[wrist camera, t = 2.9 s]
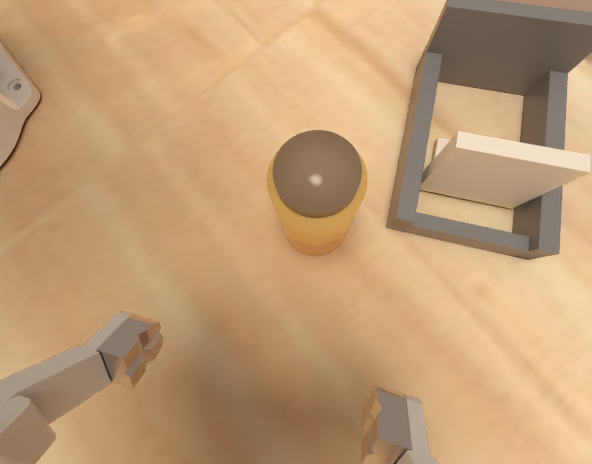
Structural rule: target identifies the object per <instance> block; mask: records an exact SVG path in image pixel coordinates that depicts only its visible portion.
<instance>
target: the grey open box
mask: <svg viewBox="0 0 592 464" xmlns="http://www.w3.org/2000/svg"><path fill="white" fill-rule="evenodd" d="M591 52H592V13H591V12H583V11H575V10H567V9H559V8H552V7H544V6H535V5H528V4H520V3H513V2H504V1H497V0H447V1H446V3H445V5H444V7H443V10H442V12H441V14H440V16H439V19H438V21H437V23H436V25H435V27H434V30H433V32H432V34H431V36H430V39H429V41H428V43H427V45H426V48H425V50H424V52H423V54H422V57H421V59H420V61H419V63H418V66H417V68H416V73H415V78H414V83H413V89H412V94H411V99H410V104H409V110H408V115H407V120H406V126H405V131H404V136H403V141H402V147H401V152H400V157H399V162H398V168H397V173H396V178H395V183H394V189H393V194H392V199H391V205H390V210H389V215H388V220H387V226H386V228H390V229H395V230H399V231H404V232H408V233H412V234H417V235H421V236H426V237H430V238H435V239H439V240H443V241H448V242H452V243H457V244H461V245H466V246H470V247H474V248H479V249H483V250H488V251H492V252H497V253H501V254H506V255H510V256H514V257H519V258H523V259H528V260H529V259H535V258H540V257H545V256H551V255H556V254H559V248H560V227H561V206H562V186H560V187H558V188H555V189H553V190H551V191H549V192H547V193H545V194H542V195H540V196H538V197H536V198H534V199H531V200H529V201H527V202H525V203H523V204H521V205H518V206H516V207H515V210H514V222H513V233H510V232H505V231H500V230H496V229H491V228H486V227H482V226H477V225H473V224H468V223H463V222H459V221H454V220H450V219H445V218H440V217H436V216H431V215H426V214H422V213H417V212H416V209H417V203H418V197H419V191H420V185H421V179H422V173H423V167H424V161H425V155H426V149H427V143H428V137H429V131H430V125H431V119H432V113H433V107H434V101H435V95H436V89H437V83H438V81H439V82H445V83H451V84H457V85H463V86H469V87H475V88H482V89H488V90H494V91H500V92H506V93H512V94H518V95H524V106H523V117H522V129H521V141H520V142H521V143H527V144H532V145H538V146H543V147H549V148H554V149H560V150H564V142H565V121H566V100H567V79H568V73H569V72H570V71H571V70H572V69H573V68H574V67H575V66H577V65H578V64H579V63H580V62H581V61H582V60H583V59H584V58H586V57H587V56H588V55H589V54H590V53H591Z"/></svg>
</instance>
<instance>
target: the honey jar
mask: <svg viewBox="0 0 592 464" xmlns="http://www.w3.org/2000/svg"><path fill="white" fill-rule="evenodd" d="M267 187H268V192H269V195H270V198H271V200H272V203H273V205H274V207H275V210H276V212H277V215H278V217H279V219H280V222H281V224H282V227H283V229H284V232H285V234H286V236H287V239H288V241H289V242H290V244H291V245H292V246H293V247H294V248H295V249H297V250H298V251H300V252H302V253H304V254H307V255H312V256H318V255H324V254H327V253H329V252H331V251H333V250H334V249H335V248H336V247H338V245H339V244H340V243H341V241H342V240H343V238H344V236H345V234H346V232H347V230H348V228H349V226H350V224H351V222H352V220H353V218H354V216H355V214H356V212H357V210H358V208H359V206H360V204H361V202H362V200H363V197H364V195H365V192H366V188H367V171H366V167H365V164H364V162H363V160H362V158H361V156H360V155H359V153H358V152H357V151H356V150H355V148H354V147H353V146H352V144H351V143H350V142H348V141H347V140H346V139H345V138H343V137H341V136H340V135H338V134H335V133H333V132H329V131H323V130H313V131H307V132H303V133H300V134H298V135H296V136H294V137H292V138H291V139H289V140H288V141H287V142H286V143H285V144H284V145H283V146H282V147H281V148H280V150H279V151H278V152H277V153H276V155H275V156H274V157H273V159H272V161H271V163H270V166H269V169H268V173H267Z"/></svg>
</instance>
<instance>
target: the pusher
mask: <svg viewBox="0 0 592 464" xmlns="http://www.w3.org/2000/svg"><path fill="white" fill-rule="evenodd" d="M590 169H591V155H587V154H582V153H576V152H571V151H565V150H560V149H554V148H549V147H543V146H538V145H532V144H527V143H521V142H516V141H510V140H505V139H499V138H493V137H488V136H482V135H477V134H471V133H466V132H460V131H458V132H457V133H456V134H455V135H454V137H453V138H452V139H451V140H448V139H443V138H438V139H437V140H436V141H435V147H434V154H433V160H432V162H431V163H430V164H429V166H428V167H427V168H426V169H425V170H424V171H423V173H422V179H421V185H420V190H424V191H429V192H434V193H439V194H443V195H448V196H453V197H458V198H463V199H468V200H472V201H477V202H482V203H487V204H492V205H496V206H501V207H506V208H511V209H512V208H514V207H516V206H518V205H521V204H523V203H525V202H527V201H529V200H531V199H534V198H536V197H538V196H540V195H542V194H545V193H547V192H549V191H551V190H553V189H555V188H558V187H560V186H562V185H564V184H566V183H569V182H571V181H573V180H575V179H577V178H579V177H582V176H584V175H586V174H588V173H590Z"/></svg>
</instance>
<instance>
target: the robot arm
mask: <svg viewBox="0 0 592 464" xmlns="http://www.w3.org/2000/svg"><path fill="white" fill-rule="evenodd" d="M39 99H40V92H39V91H38V89H37V88H36V87H35V85H34V84H33V83H32V82H31V80H30V79H29V78H28V76H27V75H26V74H25V72H24V71H23V70H22V68H21V67H20V66H19V65H18V63H17V62H16V61H15V59H14V58H13V57H12V55H11V54H10V53H9V52H8V50H7V49H6V48H5V46H4V45H3V44H2V42H1V41H0V166H1V165H2V164H3V163H4V161H5V160H6V159H7V158H8V156H9V155H10V153H11V152H12V150H13V148H14V147H15V145H16V142H17V140H18V138H19V135H20V132H21V129H22V126H23V123H24V121H25V119H26V118H27V117H28V115H29V114H30V113H31V112H32V110H33V109H34V108H35V106H36V105H37V103H38V101H39ZM160 328H161V327H160V323H159V322H157V321H154V320H150V319H147V318H143V317H140V316H137V315H134V314H131V313H127V312H124V311H120V312H118V313H116V314H115V315H114V316H113V317H112V318H111V319H110V320H109V321H108V322H107V323H106V324H105V325H104V326H103V327H102V328H101V329H100V330H99V331H97V332H96V333H95V334H94V335H93V336H92V337H91V338H90V339H89V340H88V341H87V342H86V343H85V344H84V345H83V346H80V345H78V346H76V347H74V348H71V349H69V350H67V351H65V352H62V353H60V354H58V355H56V356H53V357H51V358H49V359H47V360H44V361H42V362H40V363H38V364H35V365H33V366H31V367H29V368H26V369H24V370H22V371H20V372H17V373H15V374H13V375H11V376H8V377H6V378H4V379H2V380H0V464H36V463H37V461H38V460H39V459H40V458H41V456H42V455H43V454H44V453H45V452H46V450H47V449H48V448H49V447H50V446H51V444H52V443H53V442H54V441H55V439H56V434H55V433H54V431H53V430H52V428H51V427H50V426H49V424H50V423H51V422H53V421H55V420H56V419H58V418H59V417H61V416H62V415H64V414H65V413H67V412H68V411H70V410H71V409H73V408H74V407H76V406H78V405H79V404H81V403H82V402H84V401H85V400H87V399H88V398H90V397H91V396H93V395H94V394H96V393H97V392H99V391H101V390H102V389H104V388H105V387H107V386H108V385H110V384H111V382H114V383H117V384H121V385H124V386H127V387H131V388H134V386H135V385H136V383H137V382H138V381H139V379H140V378H141V377H142V375H143V374H144V373H145V371H146V364H148V363H149V362H151V361H153V360H154V359H155V358H156V356H157V355H158V353H159V351H160V349H161V347H162V342H163V337H162V335H161V334H160V332H159V330H160ZM362 426H363V428H364V430H365V432H366V434H365V436H364V437H363V439H362V464H438V462H437V461H436V459H435V458H433V457H430V451H429V445H428V439H427V433H426V427H425V421H424V414H423V408H422V403H421V401H420V399H419V398H416V397H413V396H409V395H406V394H403V393H400V392H396V391H393V390H389V389H385V388H382V387H378V386H373V388H372V389H371V396H370V397H367V399H366V401H365V404H364V409H363V417H362Z"/></svg>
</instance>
